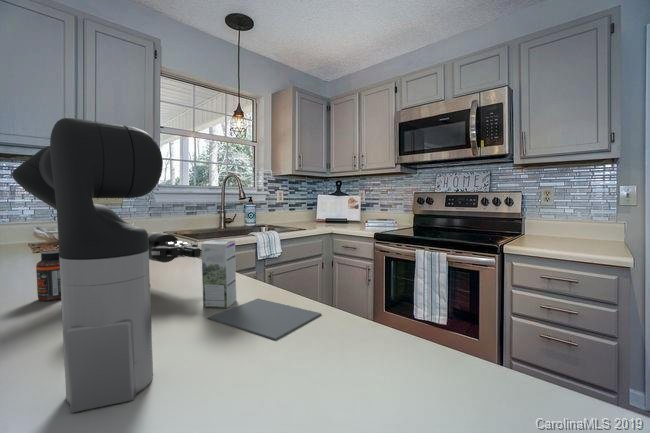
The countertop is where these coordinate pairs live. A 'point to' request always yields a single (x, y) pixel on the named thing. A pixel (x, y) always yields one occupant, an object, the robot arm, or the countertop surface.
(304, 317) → the mat
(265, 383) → the countertop surface
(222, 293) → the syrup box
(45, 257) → the supplement bottle
